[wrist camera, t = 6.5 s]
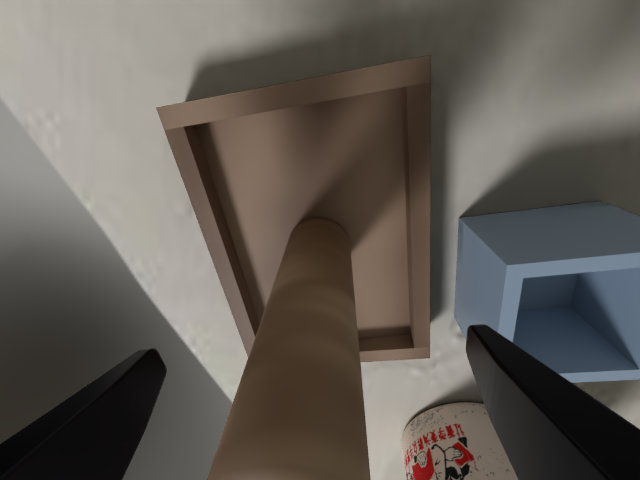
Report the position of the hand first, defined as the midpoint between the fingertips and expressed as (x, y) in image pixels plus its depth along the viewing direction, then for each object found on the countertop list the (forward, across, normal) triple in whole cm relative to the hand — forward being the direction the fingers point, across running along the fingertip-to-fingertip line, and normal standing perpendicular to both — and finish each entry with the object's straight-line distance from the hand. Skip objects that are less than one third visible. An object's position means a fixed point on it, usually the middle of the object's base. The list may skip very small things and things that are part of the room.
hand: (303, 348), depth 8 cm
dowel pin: (+6, 0, 0) cm, 6 cm away
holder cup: (+8, -10, +3) cm, 13 cm away
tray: (+8, 0, 0) cm, 8 cm away
